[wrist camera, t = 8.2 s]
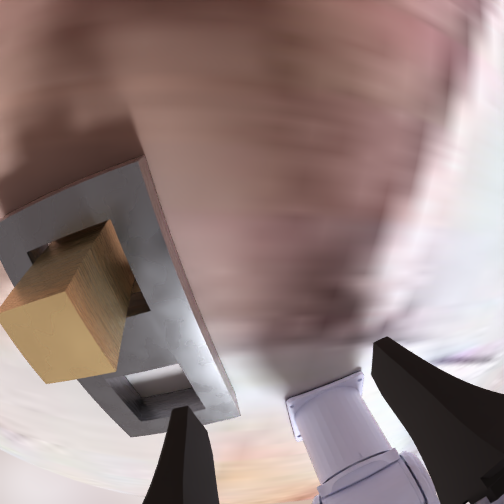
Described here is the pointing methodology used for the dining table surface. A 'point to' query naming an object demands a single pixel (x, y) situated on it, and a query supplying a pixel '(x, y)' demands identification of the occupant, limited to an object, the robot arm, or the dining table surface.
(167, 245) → the steel frame
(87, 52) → the dining table surface
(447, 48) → the dining table surface
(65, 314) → the wooden peg
